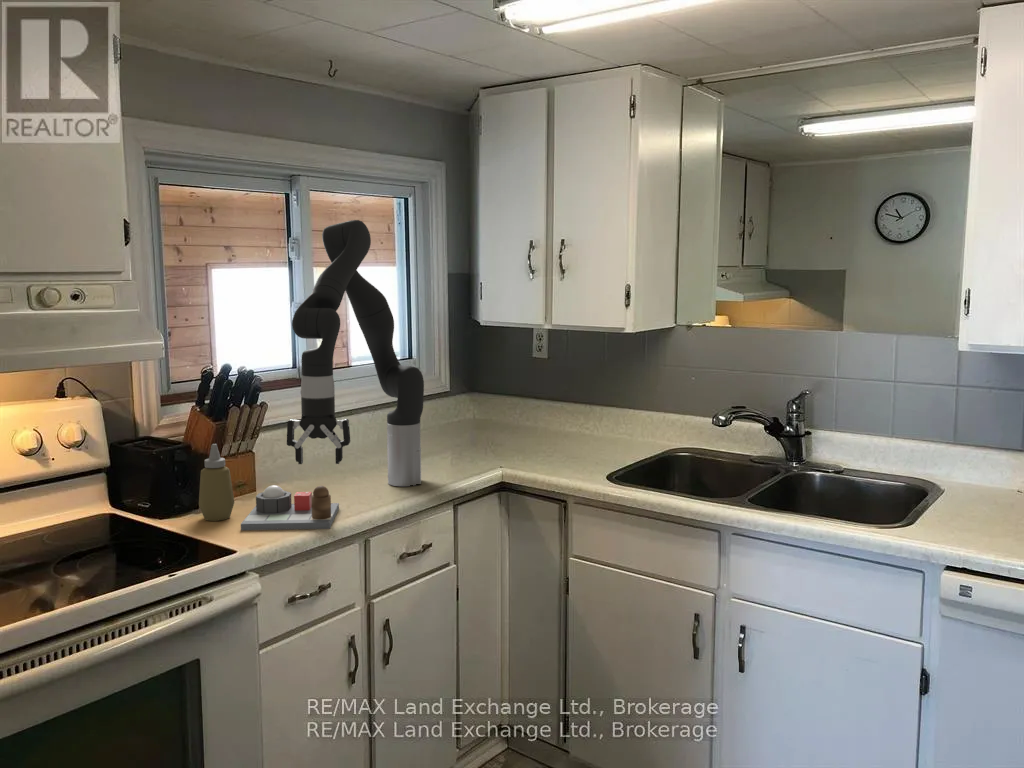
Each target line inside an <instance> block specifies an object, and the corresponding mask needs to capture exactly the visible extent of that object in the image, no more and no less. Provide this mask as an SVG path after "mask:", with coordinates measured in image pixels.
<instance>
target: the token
mask: <svg viewBox="0 0 1024 768" xmlns="http://www.w3.org/2000/svg"><path fill="white" fill-rule="evenodd" d="M331 499H332V497H331V494H330V492H329V489H328V488H327V487H326V486H324V485H319V486H316V487H315V488H314V489H313V492H312V496H311V500H312V518H313V519H327V518H330V517H331V503H332V500H331Z"/></svg>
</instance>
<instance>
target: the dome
mask: <svg viewBox="0 0 1024 768" xmlns="http://www.w3.org/2000/svg"><path fill="white" fill-rule="evenodd" d="M284 491H285V490H284V489H283V488H282V487H281V486H280V485H276V484H273V485H269V486H267V487H266V488H264V491H263V492H264V493H263V497H264V498H278V497H282V496H284Z"/></svg>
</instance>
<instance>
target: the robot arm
mask: <svg viewBox="0 0 1024 768" xmlns="http://www.w3.org/2000/svg"><path fill="white" fill-rule="evenodd" d="M321 237H322V238H321V239H322V244H323V247H324V249H325V253H326V254H327V257H328V259H329V261H330V264H329V265H328V266H327V267H326V268H325V269H323V271H322V272H321V273H320V275H318V278H317V280H316V282H315V284H314V287H313V289H312V292H311V294H309V296H307V298H306V299H305V300H304V301H303V302H302V303H301V304H300V305H299V306H298V307H297V309H295V310H296V311H295V312H294V313H293V317H292V322H291V326H292V330H293V333H294V334H295V335H296V337H299V338H301V339H306V340H307V339H308V340H309V339H313V340H314V339H315V340H317V339H318V340H321V343H320V344H319V346H318V347H315V348H310V349H306V350H304V351H303V352H302V354H301V382H300V395H301V396H300V401H301V402H300V403H301V404H300V405H301V406H300V408H301V410H300V411H301V418H300V420H299V419H298V420H297V419H294V418H290V419H289V420H288V421H287V424H286V427H287V429H286V446H288V447H293V448H294V449H295V451H294V452H295V453H294V454H295V455H294V456H295V457H294V458H295V462H297V463H298V465H303V464H304V447H303V444H304V443H305V441H306V440H307V439H308V438H311V439H326V438H327V439H328V440H329V441H330V442H331V443H333V445H334V446H335V448H334V449H335V450H334V451H335V453H334V454H335V465H339V464H340V463H341V462H342V461H343V452H344V451H343V448H344V447H345V446H349V445H350V443H351V431H350V420H349V418H344V419H338V420H337V419H336V407H335V406H336V405H335V400H336V399H335V395H336V394H335V380H334V353H335V349H336V344H337V339H338V337H339V332H340V330H341V329H340V328H341V318H340V314H338V312H337V311H338V310H339V308H340V306H341V303H342V301H343V298H344V296H345V293H346V295H347V298H348V301H349V303H350V305H351V309H352V310H353V312H354V313H353V314H354V316H355V318H356V321H357V323H358V325H359V327H360V330H361V332H362V334H363V337H364V340H365V343H366V345H367V348H368V350H369V352H370V355H371V358H372V361H373V363H374V367H375V371H376V375H377V378H378V381H379V384H380V387H381V389H382V391H383V392H384V393H385V394H386V396H388V397H391V398H397V402H396V403H397V404H396V408H395V409H394V410H391V411H389V412H387V415H386V431H387V432H386V435H387V439H386V440H387V443H386V444H387V448H386V449H387V484H388V485H389V486H395V487H411V486H410V485H413V486H417V485H416V484H421V485H422V447H421V446H422V445H421V416H422V414H423V410H424V397H425V395H424V394H425V392H424V391H425V381H424V376H423V374H422V371H421V370H420V369H419V368H418V367H416V366H412V365H404V364H403V365H402V364H401V363H400V361H399V359H398V357H397V354H396V352H395V349H394V344H393V341H394V333H395V320H394V316H393V313H392V310H391V307H390V306H389V302H388V300H387V298H386V296H385V295H384V294H383V293H382V292H381V291H380V290H379V289H378V288H377V287H375V285H373V284H372V283H371V282H370V281H368V280H367V279H366V278H365V277H363V276H362V275H361V274H360V273H359V272H358V268H359V267H360V265H361V263H362V262H363V261H364V259H365V257H366V256H367V254H368V253H369V251H370V248H371V243H372V242H371V241H372V238H371V233H370V231H369V228H368V227H367V225H366V224H365V223H364V221H361V220H359V219H354V220H353V219H352V220H348V221H343V222H340V223H339V222H338V223H334V224H331V225H327V226H326V227H324V229H323V230H322V234H321ZM299 426H300V428H301V429H302V431H303V433H302V434H301V436H300V437H299V438H298V440H295V430H296V429H297V428H298V427H299ZM337 426H339V429H340V430H342V434H343V436H342V438H343V440H341V439H340V438H339V436H338V434H337V433H336V432H335V431H334V430H335V429H336V427H337Z"/></svg>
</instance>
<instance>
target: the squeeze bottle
mask: <svg viewBox="0 0 1024 768" xmlns="http://www.w3.org/2000/svg"><path fill="white" fill-rule="evenodd" d="M210 446H211V447H210V450H209V457H208V458H206V459H204V468H202V469H201V470H200V480H199V494H198V506H199V509H200V512H201V514H202V516H203V518H204V520H205V521H208V522H209V521H210V522H218V521H224V520H227V519H229V518H230V517H231V515H232V512H233V508H234V505H235V498H234V491H233V484H232V483H233V482H232V477H231V471H230V468H229V467H227V466H226V459H225V458H224V457H221V454H220V451H219V448H218V444H217V443H212V444H211V445H210Z"/></svg>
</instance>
